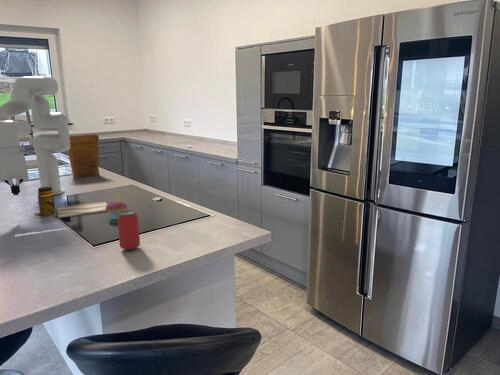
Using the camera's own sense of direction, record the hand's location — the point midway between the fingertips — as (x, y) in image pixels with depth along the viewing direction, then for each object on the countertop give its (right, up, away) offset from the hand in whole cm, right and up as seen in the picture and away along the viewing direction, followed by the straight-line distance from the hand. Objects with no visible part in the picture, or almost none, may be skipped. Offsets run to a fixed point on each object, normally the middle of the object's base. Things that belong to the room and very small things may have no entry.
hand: (16, 194), depth 160 cm
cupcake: (+42, -10, +2) cm, 43 cm away
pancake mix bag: (-7, +9, +86) cm, 87 cm away
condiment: (+9, -9, +7) cm, 15 cm away
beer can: (+57, -17, -30) cm, 67 cm away
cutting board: (+22, -7, +14) cm, 27 cm away
